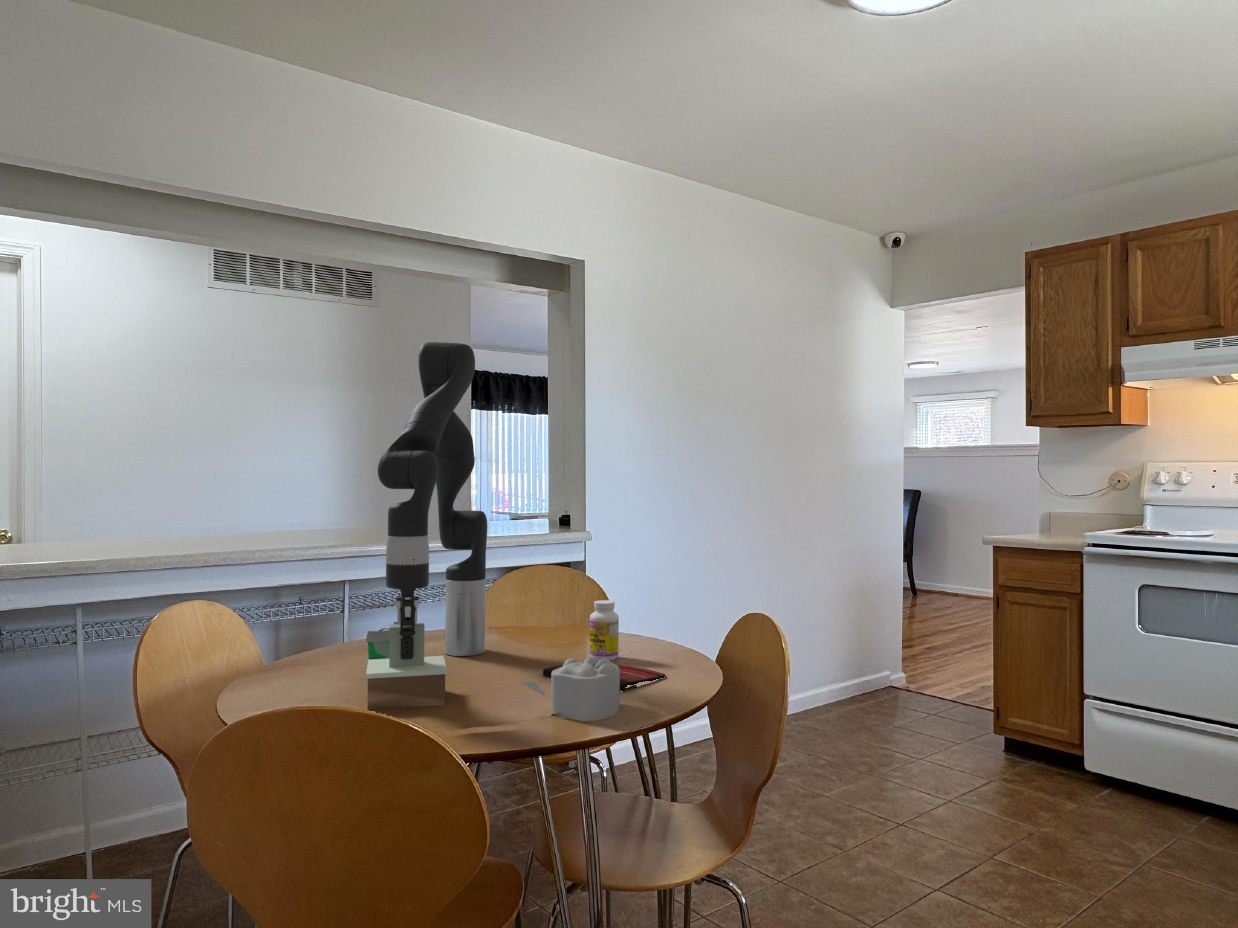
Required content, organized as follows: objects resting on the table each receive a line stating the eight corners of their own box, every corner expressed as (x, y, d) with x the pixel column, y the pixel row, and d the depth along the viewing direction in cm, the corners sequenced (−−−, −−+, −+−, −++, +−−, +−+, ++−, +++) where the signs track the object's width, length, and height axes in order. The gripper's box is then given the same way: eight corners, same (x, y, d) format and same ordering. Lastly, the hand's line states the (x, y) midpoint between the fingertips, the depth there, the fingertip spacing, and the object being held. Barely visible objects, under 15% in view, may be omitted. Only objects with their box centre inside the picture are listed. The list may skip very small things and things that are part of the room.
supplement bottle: (583, 658, 184) (583, 601, 185) (603, 653, 189) (603, 598, 190) (604, 662, 180) (604, 604, 180) (624, 658, 185) (624, 601, 185)
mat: (464, 687, 157) (464, 685, 157) (535, 683, 161) (535, 681, 161) (470, 706, 144) (470, 704, 144) (548, 701, 148) (548, 699, 148)
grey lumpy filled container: (543, 714, 140) (543, 663, 140) (584, 697, 151) (585, 650, 151) (593, 724, 134) (593, 671, 134) (633, 705, 145) (633, 657, 146)
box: (369, 698, 149) (369, 664, 149) (441, 693, 153) (441, 660, 153) (367, 714, 139) (367, 678, 139) (444, 709, 142) (445, 673, 142)
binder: (624, 682, 155) (542, 667, 167) (623, 694, 154) (541, 679, 167) (670, 670, 167) (590, 657, 180) (669, 682, 167) (590, 668, 180)
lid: (368, 669, 150) (368, 621, 150) (443, 665, 153) (443, 618, 154) (365, 684, 139) (366, 632, 139) (447, 679, 142) (447, 629, 142)
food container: (394, 683, 161) (394, 632, 161) (365, 681, 162) (366, 631, 162) (421, 669, 173) (421, 622, 173) (394, 667, 174) (395, 621, 174)
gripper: (430, 564, 141) (429, 664, 140) (427, 556, 154) (426, 647, 154) (385, 565, 139) (384, 666, 138) (386, 557, 152) (385, 649, 152)
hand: (406, 656), depth 146 cm, fingers closed on lid, 3 cm apart
